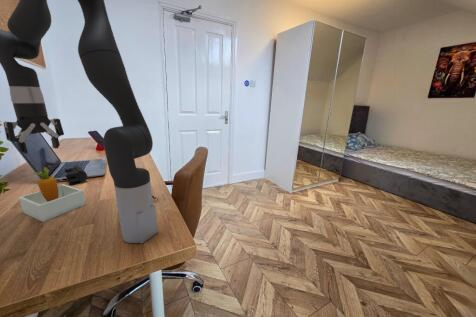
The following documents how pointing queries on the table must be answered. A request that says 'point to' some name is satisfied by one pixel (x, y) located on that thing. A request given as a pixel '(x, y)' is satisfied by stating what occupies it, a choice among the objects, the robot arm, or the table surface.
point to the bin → (52, 203)
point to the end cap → (75, 175)
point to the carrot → (48, 186)
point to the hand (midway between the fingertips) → (41, 150)
